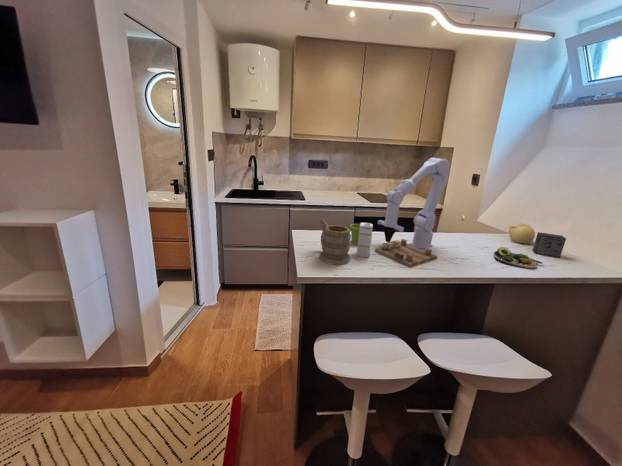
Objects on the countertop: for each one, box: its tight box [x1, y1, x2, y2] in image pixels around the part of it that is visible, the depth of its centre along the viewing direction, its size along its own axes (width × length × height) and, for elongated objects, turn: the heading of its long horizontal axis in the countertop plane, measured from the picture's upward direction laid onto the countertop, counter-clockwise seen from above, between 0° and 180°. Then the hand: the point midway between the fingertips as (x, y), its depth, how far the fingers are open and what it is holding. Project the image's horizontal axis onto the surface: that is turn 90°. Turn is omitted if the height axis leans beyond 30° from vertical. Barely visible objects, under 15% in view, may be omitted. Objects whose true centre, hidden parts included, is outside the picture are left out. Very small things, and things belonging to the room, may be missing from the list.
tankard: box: [319, 218, 352, 266], centre depth 127 cm, size 20×13×15 cm, turn 27°
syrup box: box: [356, 222, 374, 258], centre depth 131 cm, size 6×6×14 cm
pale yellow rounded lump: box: [508, 222, 536, 245], centre depth 165 cm, size 11×12×11 cm
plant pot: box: [349, 223, 360, 245], centre depth 147 cm, size 9×9×9 cm
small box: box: [531, 232, 567, 259], centre depth 147 cm, size 11×6×10 cm, turn 65°
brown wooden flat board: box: [374, 238, 438, 268], centre depth 135 cm, size 20×20×4 cm
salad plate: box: [493, 246, 543, 269], centre depth 136 cm, size 19×18×5 cm
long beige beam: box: [381, 239, 401, 250], centre depth 139 cm, size 12×3×2 cm, turn 125°
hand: (387, 241), depth 145 cm, fingers closed
